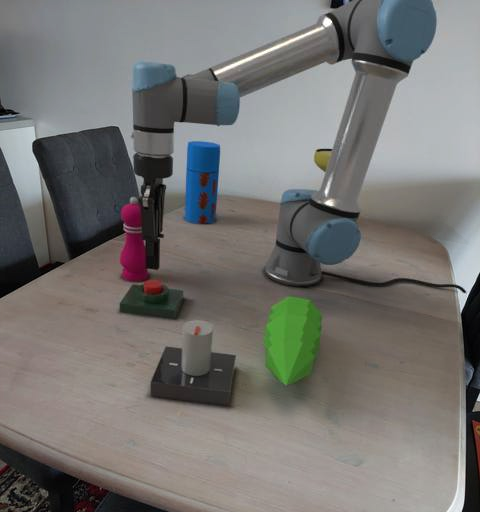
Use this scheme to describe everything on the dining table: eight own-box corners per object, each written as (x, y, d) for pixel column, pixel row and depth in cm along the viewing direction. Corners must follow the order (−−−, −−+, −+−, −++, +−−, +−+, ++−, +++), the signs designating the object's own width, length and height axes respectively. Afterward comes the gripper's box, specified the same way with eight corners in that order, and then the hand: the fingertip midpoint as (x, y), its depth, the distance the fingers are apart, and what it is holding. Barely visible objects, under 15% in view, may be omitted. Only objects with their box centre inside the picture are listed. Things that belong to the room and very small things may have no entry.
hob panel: (234, 368, 87) (236, 354, 85) (228, 406, 77) (229, 391, 76) (165, 359, 87) (165, 345, 86) (150, 396, 78) (150, 380, 76)
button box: (183, 298, 110) (183, 283, 108) (174, 319, 101) (175, 302, 99) (132, 292, 110) (132, 277, 108) (119, 312, 101) (119, 295, 99)
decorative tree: (317, 278, 97) (312, 349, 70) (328, 327, 101) (328, 411, 74) (264, 289, 100) (240, 361, 73) (277, 336, 104) (259, 420, 77)
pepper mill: (143, 284, 114) (142, 203, 105) (115, 279, 115) (112, 198, 106) (153, 273, 121) (154, 195, 111) (127, 268, 122) (125, 191, 112)
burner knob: (183, 357, 83) (185, 316, 79) (211, 360, 83) (215, 320, 79) (178, 374, 79) (180, 331, 75) (208, 377, 79) (211, 335, 75)
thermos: (184, 213, 168) (187, 140, 156) (214, 215, 169) (219, 142, 157) (184, 223, 159) (187, 145, 147) (215, 225, 160) (221, 148, 148)
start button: (163, 288, 105) (163, 281, 105) (159, 295, 102) (159, 288, 101) (146, 286, 106) (146, 279, 105) (141, 293, 102) (141, 286, 101)
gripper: (143, 146, 95) (143, 255, 107) (123, 157, 84) (126, 277, 95) (179, 150, 95) (175, 259, 107) (165, 162, 84) (162, 282, 95)
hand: (152, 267), depth 101 cm, fingers closed
